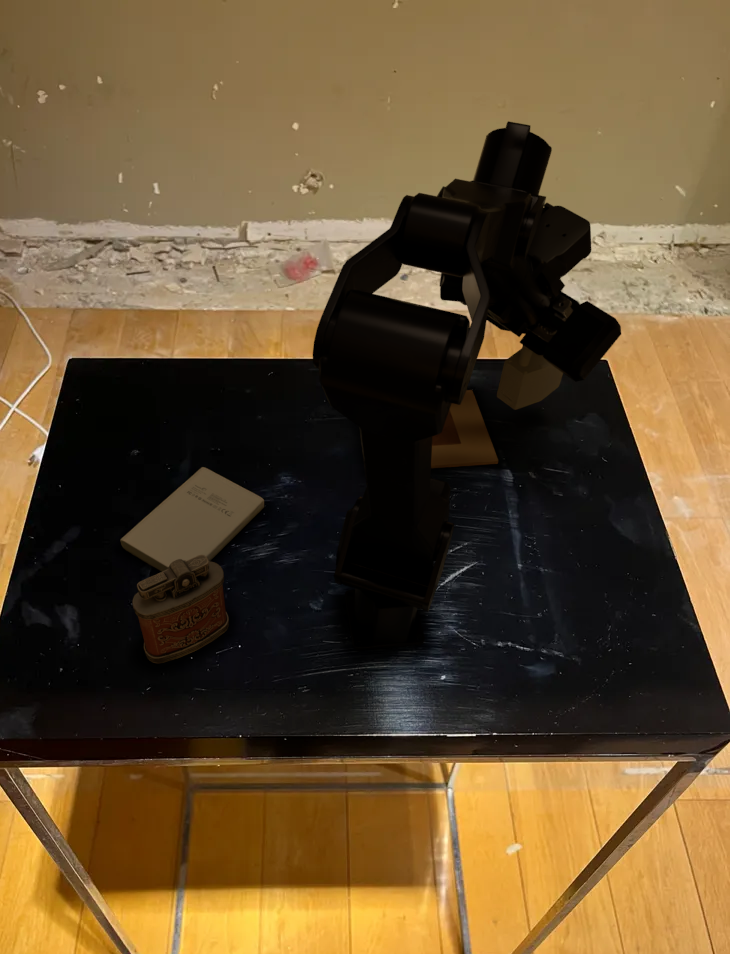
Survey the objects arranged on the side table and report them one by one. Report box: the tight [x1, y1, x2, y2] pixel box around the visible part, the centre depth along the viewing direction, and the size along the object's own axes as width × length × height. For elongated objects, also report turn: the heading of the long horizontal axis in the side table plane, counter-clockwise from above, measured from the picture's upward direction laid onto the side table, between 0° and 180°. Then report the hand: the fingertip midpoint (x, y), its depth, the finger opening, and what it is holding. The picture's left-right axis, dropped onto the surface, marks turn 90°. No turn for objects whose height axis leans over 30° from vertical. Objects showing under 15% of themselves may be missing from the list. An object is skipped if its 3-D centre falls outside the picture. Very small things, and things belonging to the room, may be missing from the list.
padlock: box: [496, 331, 564, 411], centre depth 87 cm, size 7×4×10 cm, turn 127°
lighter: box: [132, 555, 230, 664], centre depth 71 cm, size 8×3×10 cm, turn 123°
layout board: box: [431, 389, 499, 469], centre depth 93 cm, size 12×14×1 cm
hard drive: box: [120, 466, 265, 572], centre depth 82 cm, size 2×8×12 cm
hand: (551, 335), depth 86 cm, fingers closed on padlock
